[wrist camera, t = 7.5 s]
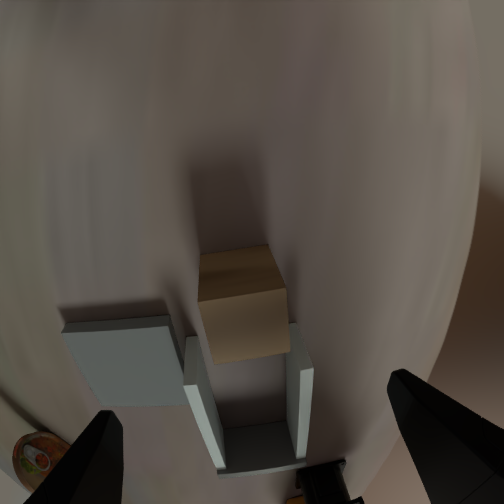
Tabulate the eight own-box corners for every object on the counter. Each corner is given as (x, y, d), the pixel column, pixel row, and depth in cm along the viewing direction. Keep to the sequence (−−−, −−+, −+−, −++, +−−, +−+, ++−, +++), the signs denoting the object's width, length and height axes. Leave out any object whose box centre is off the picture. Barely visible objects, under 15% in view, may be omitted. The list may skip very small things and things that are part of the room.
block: (273, 300, 20) (290, 351, 16) (212, 310, 20) (214, 364, 15) (267, 243, 18) (286, 287, 14) (200, 254, 18) (197, 302, 14)
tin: (124, 477, 30) (119, 530, 22) (108, 479, 30) (103, 529, 23) (33, 416, 24) (12, 476, 16) (21, 419, 24) (1, 475, 16)
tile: (193, 392, 23) (193, 403, 22) (104, 395, 22) (101, 406, 21) (169, 314, 20) (167, 325, 19) (66, 322, 19) (60, 333, 18)
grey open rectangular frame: (294, 424, 27) (306, 466, 22) (216, 435, 26) (219, 478, 22) (296, 322, 21) (316, 373, 17) (186, 337, 21) (182, 392, 16)
